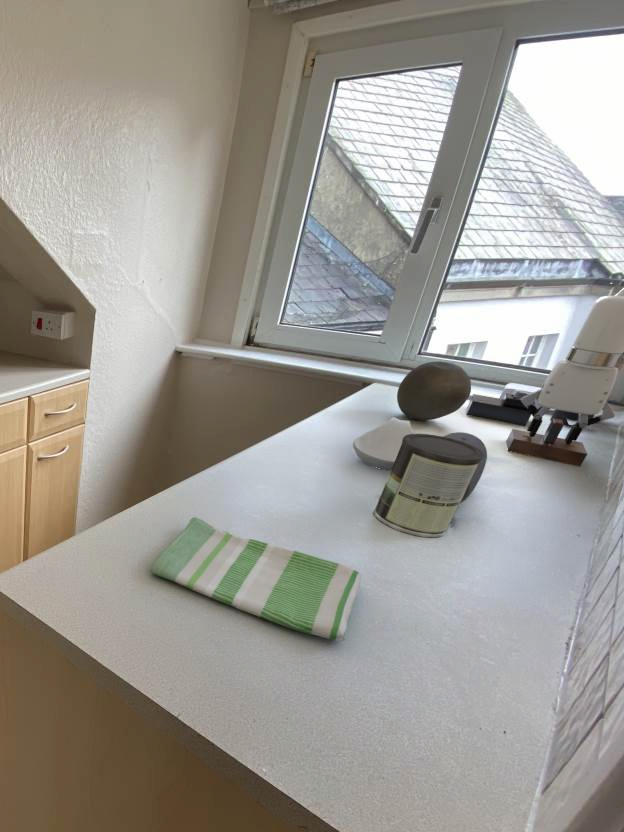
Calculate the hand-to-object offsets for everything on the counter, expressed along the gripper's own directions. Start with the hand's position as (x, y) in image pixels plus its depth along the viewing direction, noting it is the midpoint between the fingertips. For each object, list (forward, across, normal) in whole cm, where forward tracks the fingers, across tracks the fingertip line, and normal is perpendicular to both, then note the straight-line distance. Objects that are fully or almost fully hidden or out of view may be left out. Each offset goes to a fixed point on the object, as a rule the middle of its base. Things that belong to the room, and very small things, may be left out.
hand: (549, 438), depth 122 cm
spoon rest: (+4, +27, +30) cm, 40 cm away
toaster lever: (-2, +5, -26) cm, 27 cm away
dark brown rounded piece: (+4, +23, -7) cm, 24 cm away
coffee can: (+4, +20, +61) cm, 64 cm away
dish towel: (+4, +34, +97) cm, 103 cm away
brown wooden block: (+4, 0, 0) cm, 4 cm away
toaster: (+4, +8, -26) cm, 27 cm away
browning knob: (+1, 0, 0) cm, 1 cm away
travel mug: (+4, -7, -34) cm, 35 cm away
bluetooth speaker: (+4, +17, +44) cm, 47 cm away
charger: (+4, +2, -50) cm, 50 cm away
